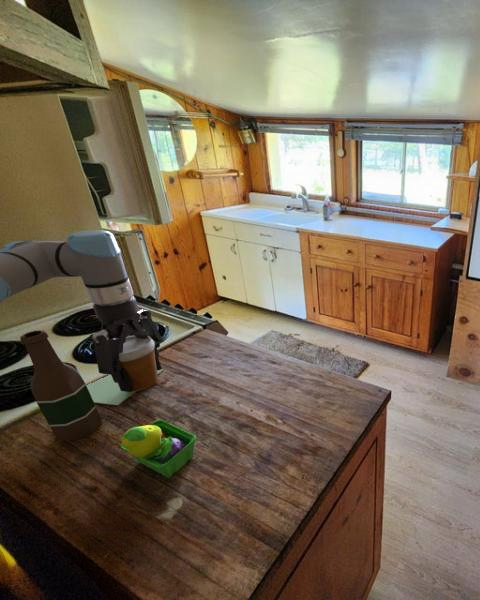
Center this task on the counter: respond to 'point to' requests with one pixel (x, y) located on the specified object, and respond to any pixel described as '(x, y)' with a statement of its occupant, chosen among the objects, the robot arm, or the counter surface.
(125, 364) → the disposable coffee cup
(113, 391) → the mat
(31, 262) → the robot arm
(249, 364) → the counter surface
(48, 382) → the beer bottle
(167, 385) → the counter surface
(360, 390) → the counter surface
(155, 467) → the fruit basket
